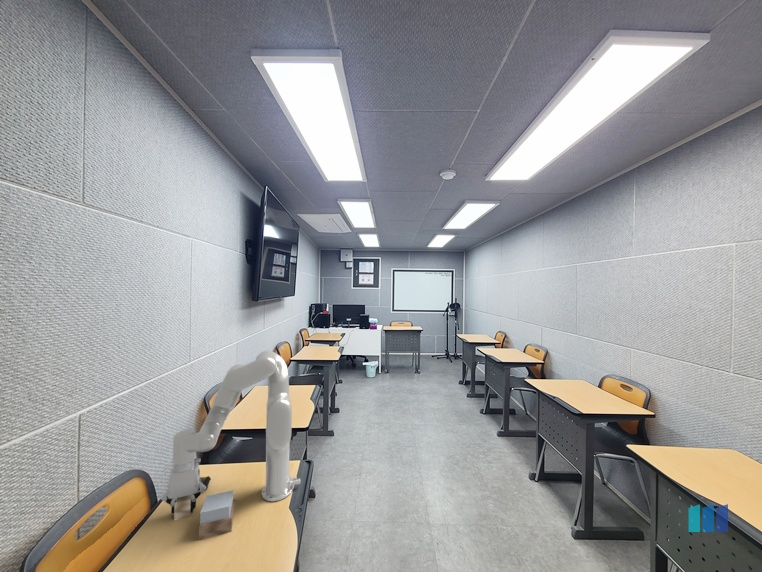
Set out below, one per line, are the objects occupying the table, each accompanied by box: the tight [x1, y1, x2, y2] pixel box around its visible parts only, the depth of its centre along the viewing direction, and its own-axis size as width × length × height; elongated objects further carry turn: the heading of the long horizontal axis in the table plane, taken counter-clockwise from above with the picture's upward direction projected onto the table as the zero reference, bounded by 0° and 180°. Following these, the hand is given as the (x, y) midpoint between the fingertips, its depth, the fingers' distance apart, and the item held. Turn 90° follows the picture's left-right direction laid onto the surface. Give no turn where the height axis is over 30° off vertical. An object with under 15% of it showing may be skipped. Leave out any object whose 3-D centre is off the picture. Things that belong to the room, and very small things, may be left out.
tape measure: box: [198, 475, 212, 492], centre depth 125 cm, size 7×7×4 cm
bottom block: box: [198, 499, 236, 541], centre depth 106 cm, size 10×10×5 cm
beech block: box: [173, 495, 192, 521], centre depth 111 cm, size 5×5×6 cm
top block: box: [199, 490, 234, 525], centre depth 106 cm, size 9×9×4 cm
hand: (183, 511), depth 111 cm, fingers closed on beech block, 5 cm apart
